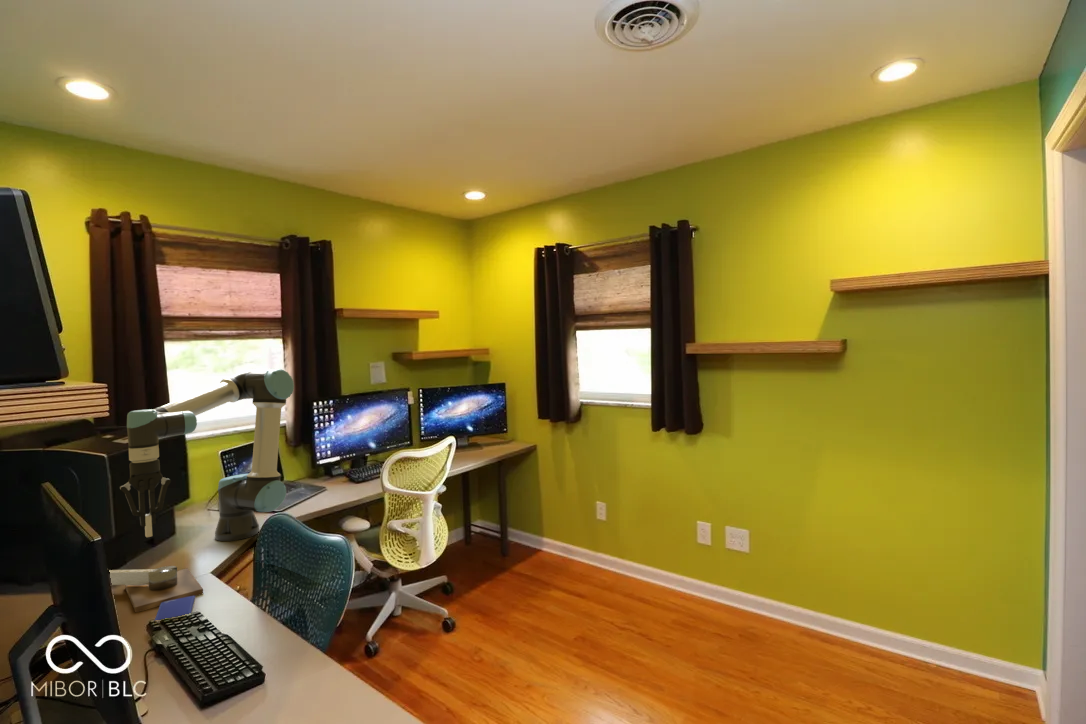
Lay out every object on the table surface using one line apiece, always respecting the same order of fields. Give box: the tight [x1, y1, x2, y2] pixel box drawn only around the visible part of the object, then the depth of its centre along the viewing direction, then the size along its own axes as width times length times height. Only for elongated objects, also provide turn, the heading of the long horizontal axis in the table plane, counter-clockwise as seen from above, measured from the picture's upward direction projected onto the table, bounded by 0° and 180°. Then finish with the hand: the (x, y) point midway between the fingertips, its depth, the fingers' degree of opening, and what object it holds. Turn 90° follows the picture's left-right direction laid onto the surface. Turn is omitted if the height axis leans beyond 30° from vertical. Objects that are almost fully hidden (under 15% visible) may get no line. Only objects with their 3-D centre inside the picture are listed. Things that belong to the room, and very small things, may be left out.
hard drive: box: [153, 596, 196, 622], centre depth 149 cm, size 2×8×12 cm
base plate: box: [124, 567, 204, 613], centre depth 162 cm, size 16×22×2 cm
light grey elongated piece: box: [108, 565, 178, 590], centre depth 163 cm, size 23×7×5 cm, turn 89°
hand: (148, 535), depth 169 cm, fingers closed
